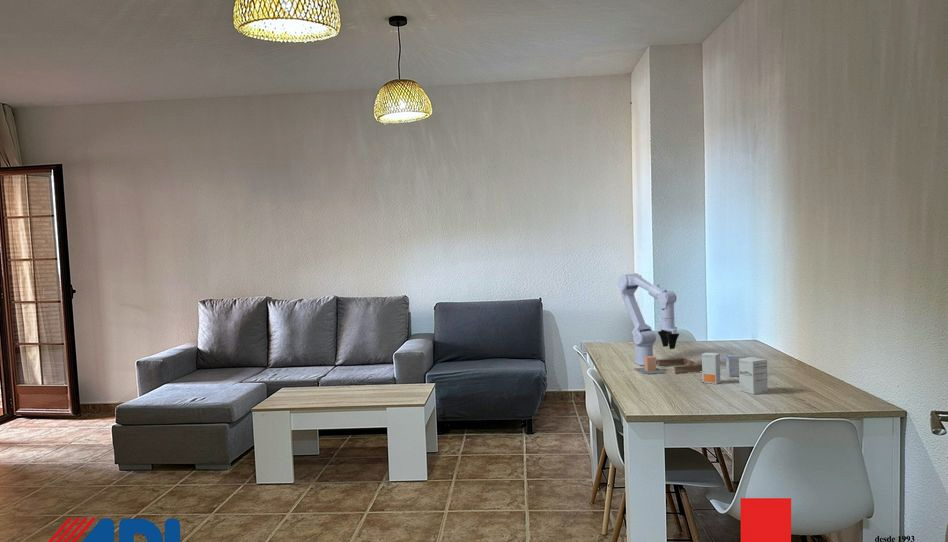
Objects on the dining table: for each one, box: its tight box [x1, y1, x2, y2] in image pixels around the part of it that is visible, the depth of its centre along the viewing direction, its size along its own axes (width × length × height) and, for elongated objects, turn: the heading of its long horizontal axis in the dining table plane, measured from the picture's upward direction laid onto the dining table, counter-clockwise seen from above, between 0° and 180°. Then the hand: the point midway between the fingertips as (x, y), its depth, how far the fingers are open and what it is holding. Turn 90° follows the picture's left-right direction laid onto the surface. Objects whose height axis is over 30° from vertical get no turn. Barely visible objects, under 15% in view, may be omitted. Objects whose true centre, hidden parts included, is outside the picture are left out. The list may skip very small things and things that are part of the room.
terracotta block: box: [643, 355, 657, 371], centre depth 313 cm, size 4×4×6 cm
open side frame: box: [657, 357, 702, 374], centre depth 315 cm, size 19×13×3 cm
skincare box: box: [701, 352, 721, 385], centre depth 284 cm, size 6×4×12 cm
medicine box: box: [725, 354, 749, 378], centre depth 295 cm, size 8×4×9 cm, turn 84°
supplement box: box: [738, 356, 769, 395], centre depth 265 cm, size 7×7×13 cm
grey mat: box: [633, 367, 666, 375], centre depth 313 cm, size 13×10×1 cm
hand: (668, 347), depth 318 cm, fingers open, 7 cm apart
